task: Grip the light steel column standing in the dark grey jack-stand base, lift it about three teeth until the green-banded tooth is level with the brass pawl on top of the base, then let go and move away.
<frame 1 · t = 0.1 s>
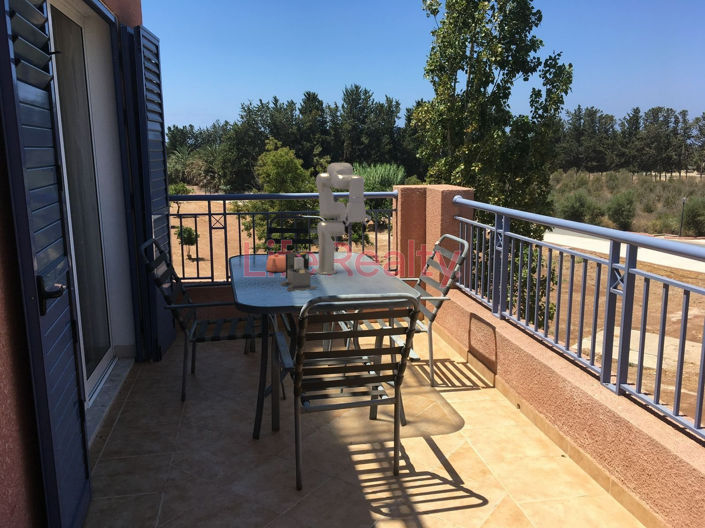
hand: (355, 232, 295), 31 cm above the table, tool pointing down, fingers open, 9 cm apart
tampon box: (297, 278, 326), on the table
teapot: (276, 271, 343), on the table
stand base: (298, 286, 306), on the table
column: (299, 272, 304), point 8 cm above the table, slide at 0.0 cm
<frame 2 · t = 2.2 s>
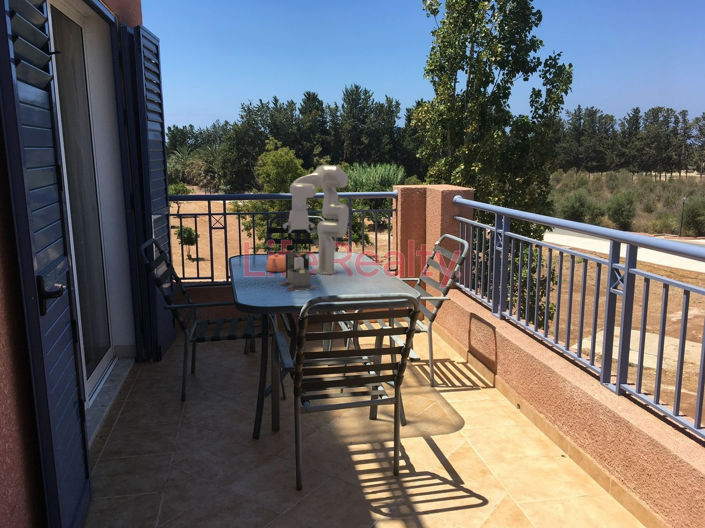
hand: (298, 240, 300), 26 cm above the table, tool pointing down, fingers open, 9 cm apart
nothing on the table moved.
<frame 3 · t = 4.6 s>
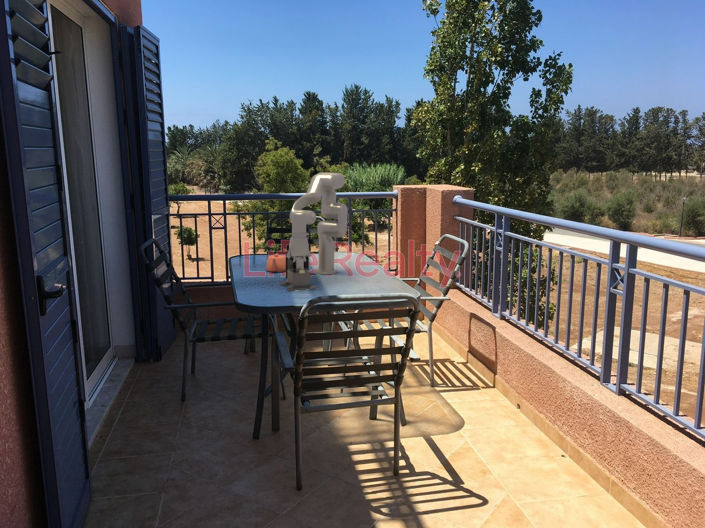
hand: (298, 268, 304), 10 cm above the table, tool pointing down, fingers closed on column, 4 cm apart
column: (299, 272, 304), point 8 cm above the table, slide at 0.0 cm, touching gripper
everything else where it was.
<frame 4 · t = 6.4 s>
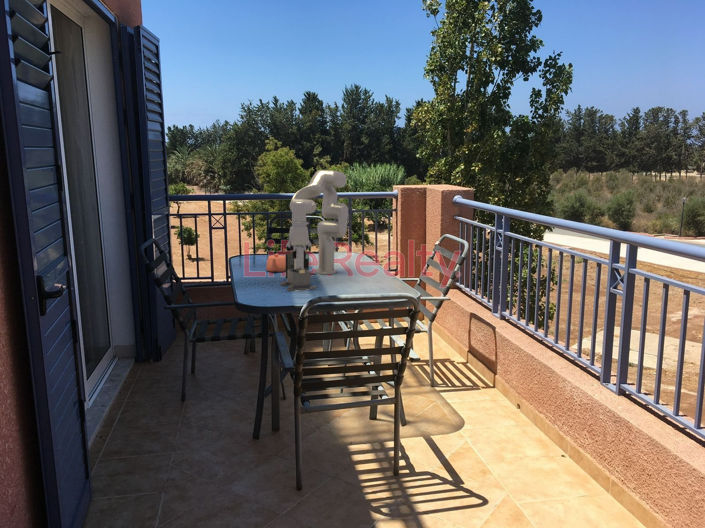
hand: (298, 257, 303), 16 cm above the table, tool pointing down, fingers closed on column, 4 cm apart
column: (299, 261, 303), point 14 cm above the table, slide at 5.9 cm, touching gripper
everything else where it was.
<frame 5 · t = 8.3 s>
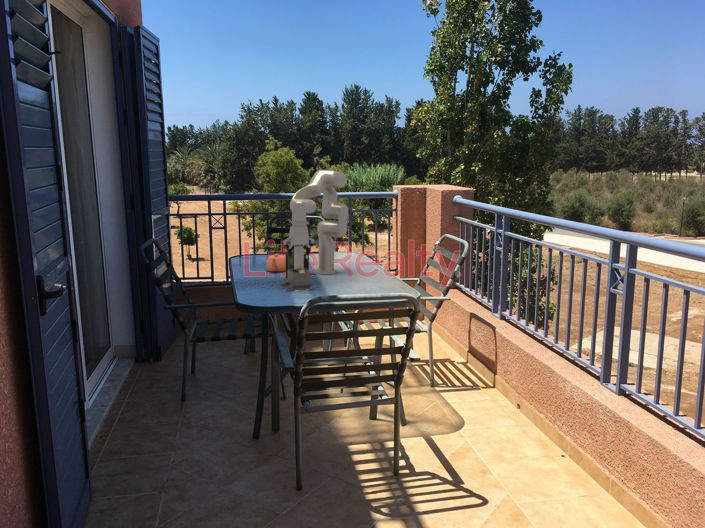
hand: (298, 255, 302), 17 cm above the table, tool pointing down, fingers open, 9 cm apart
column: (299, 261, 303), point 14 cm above the table, slide at 6.0 cm
everything else where it was.
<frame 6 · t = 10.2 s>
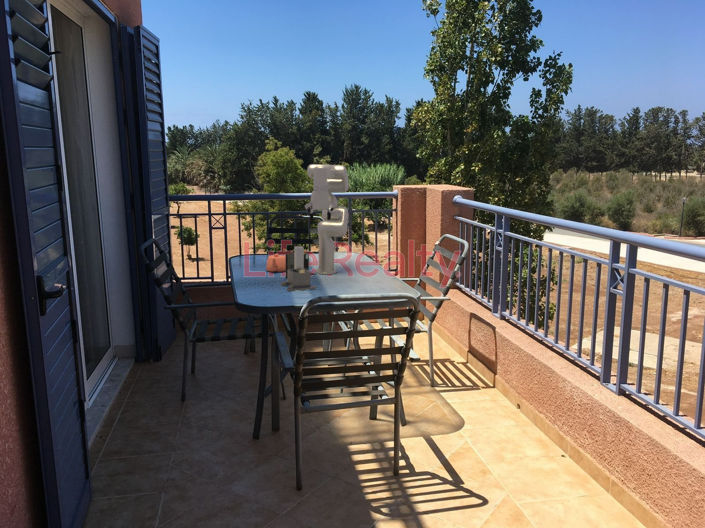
hand: (320, 220, 310), 35 cm above the table, tool pointing down, fingers open, 9 cm apart
nothing on the table moved.
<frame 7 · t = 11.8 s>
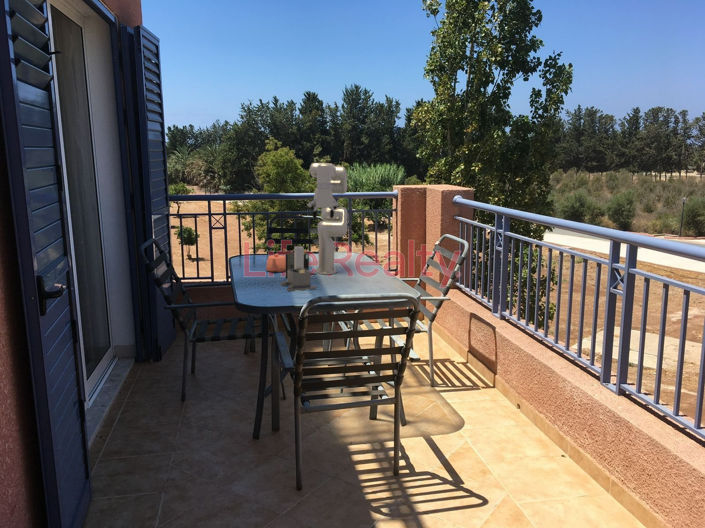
hand: (323, 218, 311), 36 cm above the table, tool pointing down, fingers open, 9 cm apart
nothing on the table moved.
at the end: column slide at 6.0 cm; the gripper is holding nothing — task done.
